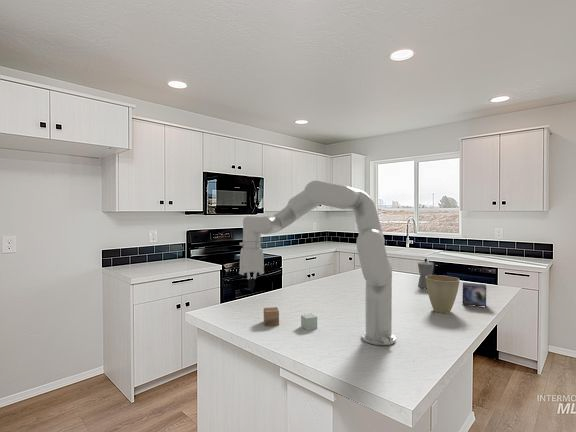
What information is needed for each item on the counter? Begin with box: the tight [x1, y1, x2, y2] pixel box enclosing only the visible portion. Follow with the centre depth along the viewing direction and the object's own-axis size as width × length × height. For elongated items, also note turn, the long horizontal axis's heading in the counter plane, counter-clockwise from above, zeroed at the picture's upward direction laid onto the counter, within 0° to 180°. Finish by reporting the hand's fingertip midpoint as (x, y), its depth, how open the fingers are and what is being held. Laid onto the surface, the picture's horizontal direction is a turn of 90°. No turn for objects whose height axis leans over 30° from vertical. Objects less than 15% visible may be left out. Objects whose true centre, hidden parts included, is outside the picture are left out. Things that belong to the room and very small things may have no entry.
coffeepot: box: [417, 258, 437, 289], centre depth 209 cm, size 15×9×18 cm, turn 118°
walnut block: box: [263, 306, 280, 327], centre depth 144 cm, size 6×6×6 cm
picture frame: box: [462, 282, 487, 308], centre depth 169 cm, size 11×6×10 cm, turn 62°
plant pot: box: [426, 274, 460, 314], centre depth 160 cm, size 15×15×16 cm
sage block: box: [300, 313, 318, 331], centre depth 139 cm, size 5×5×5 cm
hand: (251, 287), depth 143 cm, fingers closed
